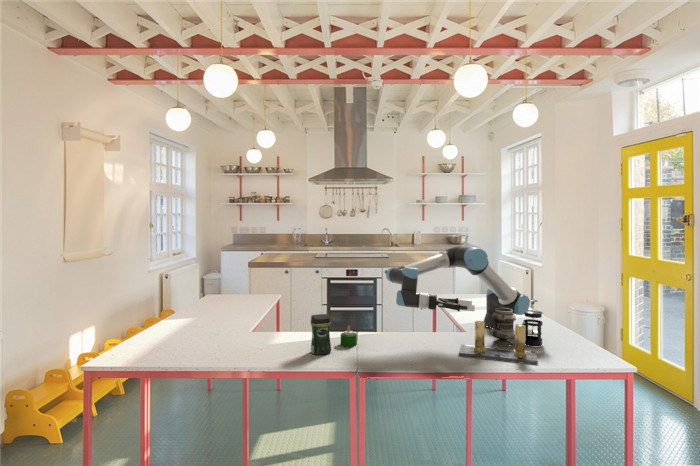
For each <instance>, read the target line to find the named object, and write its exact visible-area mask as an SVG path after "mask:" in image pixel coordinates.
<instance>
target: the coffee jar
mask: <svg viewBox="0 0 700 466" xmlns="http://www.w3.org/2000/svg"><path fill="white" fill-rule="evenodd" d="M310 317H311V318H310V326H311V345H310V352H311V354H312V355H315V356H316V355H317V356H321V355H328V354H330V353H332V346H331V345H332V344H331V335H330V334H331V333H330V326H331V324H332V322H331V316H330V315H329V313H322V314H320V313H319V314H312V315H311V316H310Z"/></svg>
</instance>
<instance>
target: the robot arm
mask: <svg viewBox="0 0 700 466" xmlns="http://www.w3.org/2000/svg"><path fill="white" fill-rule="evenodd" d="M488 257H489V255H488V254H487V252H486V251H485V249H482V248H479V247H477V246H462V245H457V246H453V247H449V248H447V249H444V250H441V251H439V252H438V253H437V254H435V255H432V256H429V257H426V258H423V259H420V260H416V261H415V262H411V263H409V264H405V265H401V266H399V267H390V268H388V269H387V270H386V273H385V278H386V280H387V281H389V282H390V283H394V284H397V285H398V284H399V285H401V288H400V290H397V293H396V299H395V300H396V302H395V303H396V306H400V307H405V308H416V309H420V310H423V309H426V310H427V309H428V310H434V311H435V310H436V309H437V306H438V308H442V309H443V308H444V309H449V310H452V311H453V310H454V311H457V312H461V311H468V312H475V307H476V305H473V300H465V299H463V300H462V299H459V298H458V297H456V298H442V297H441V298H440V297H439V298H438V297H437V296H438V295H437V294H435V293H430V294H429V293H428V292H417V290H418V279H419V276H421V275H425V274H427V273H431V272H434V271H436V270H439V269H442V268H444V269H448V268H451V267H455V268H461V269H462V268H463V269H465V270H467V271H468V273H470V274H471V275H472V276H476V277H477V278H479V280H480V281H482V283H484V285H486V287H487V289H486V304H485V305H486V310H485V311H486V313H485V316H484V319H483V322H485V326H488V327H491V328H494V319H493V318H492V314H493V313H494V312H495V309H496V308H509V309H512V310H513V314H514V315H515V316H522V315H525V313H524V311H525V310H530V306H531V305H530V304H531V303H530V302H531V301H529V300H530V298H529V297H528V296H527V295H526V294H522V293H521V292H519V291H518V290H517V289H516V288H515V287H512V286H510V285H508V283H507V282H506V281H505V280H504V279H503V278H502V277H501V276H500V275H499V274H498V273H497V272H496V271H495V270H494V268H492V266H491V265H489V264H490V262H489V258H488ZM491 328H490V329H491Z"/></svg>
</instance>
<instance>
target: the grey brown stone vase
mask: <svg viewBox="0 0 700 466" xmlns="http://www.w3.org/2000/svg"><path fill="white" fill-rule="evenodd" d="M492 318H493V319H494V328H493V329H491V331H490V334H491V335H492V336H493V337H494V338H496V339H495V340H493V342H492V343H493V344H494V343H495V344H494V345H496V344H497V345H496V346H499V345H502V346H501V347H510V346H509V345H513V346H514V343H513V342H512V341H510V340H512V339H515V329H514V322H515V321H516V319H517V315H516V314H513V310H512V309H509V308H496V309H495V312H494V313H493V314H492Z"/></svg>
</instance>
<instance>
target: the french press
mask: <svg viewBox="0 0 700 466" xmlns="http://www.w3.org/2000/svg"><path fill="white" fill-rule="evenodd" d="M529 301H530V302H531V304H532V309H528V310H525V311H524V313H525V314H524V317H527V318H529V319H527V318H526V319H524V320H523V322H522V323H521V325H525V326H526V334H525V344H526V345H529V346H541V345H542V344H543V338H542V334H543V333H542V326H544V325H543V321H542V320H539V319H541V318H542V316H543V314H544V313H543V312H542V311H540V310H535V309H534V307H535V306H534V305H535V303H538V301H539V300H537V299H529ZM531 318H532V319H531ZM530 326H531V327H532V328H531V329H529V327H530ZM534 327H537V330H534ZM526 345H525V346H526ZM529 346H528V347H529Z"/></svg>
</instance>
